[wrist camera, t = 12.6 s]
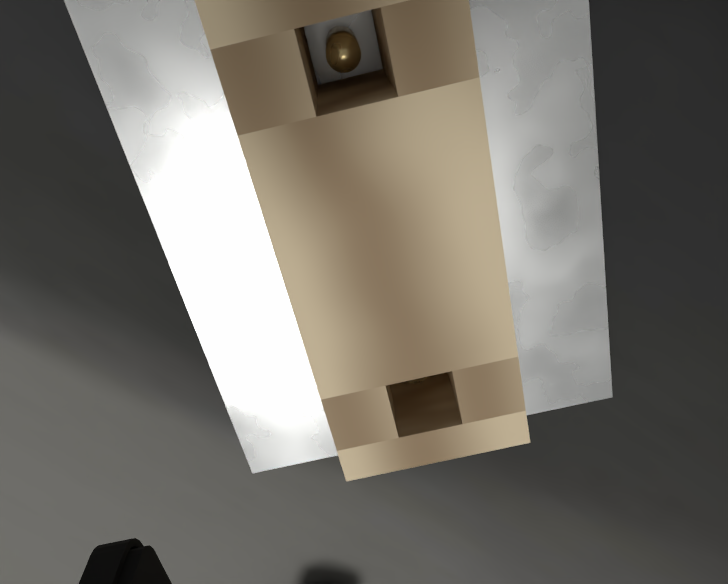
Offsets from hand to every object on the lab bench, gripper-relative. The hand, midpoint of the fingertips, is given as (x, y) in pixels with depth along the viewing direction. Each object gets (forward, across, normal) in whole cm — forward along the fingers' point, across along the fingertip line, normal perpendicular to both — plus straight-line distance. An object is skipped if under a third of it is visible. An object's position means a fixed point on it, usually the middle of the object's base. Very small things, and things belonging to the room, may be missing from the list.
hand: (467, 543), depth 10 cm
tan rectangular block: (+15, 0, 0) cm, 15 cm away
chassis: (+17, 0, 0) cm, 17 cm away
